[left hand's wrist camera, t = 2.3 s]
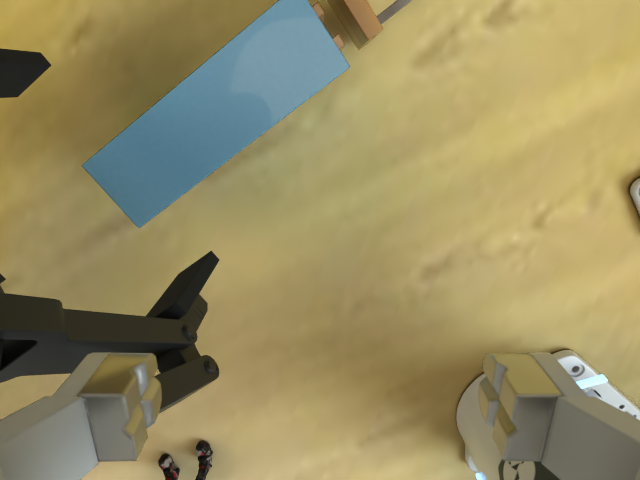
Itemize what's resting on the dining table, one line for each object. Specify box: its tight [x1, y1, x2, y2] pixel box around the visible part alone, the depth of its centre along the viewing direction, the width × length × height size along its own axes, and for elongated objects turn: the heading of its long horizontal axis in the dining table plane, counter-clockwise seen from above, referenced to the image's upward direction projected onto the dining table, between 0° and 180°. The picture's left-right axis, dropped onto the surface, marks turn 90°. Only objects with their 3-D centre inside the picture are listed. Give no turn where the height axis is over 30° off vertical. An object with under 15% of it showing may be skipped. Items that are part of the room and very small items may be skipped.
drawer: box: [312, 0, 412, 51], centre depth 32 cm, size 23×4×8 cm, turn 126°
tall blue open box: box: [82, 0, 350, 228], centre depth 34 cm, size 19×6×10 cm, turn 126°
